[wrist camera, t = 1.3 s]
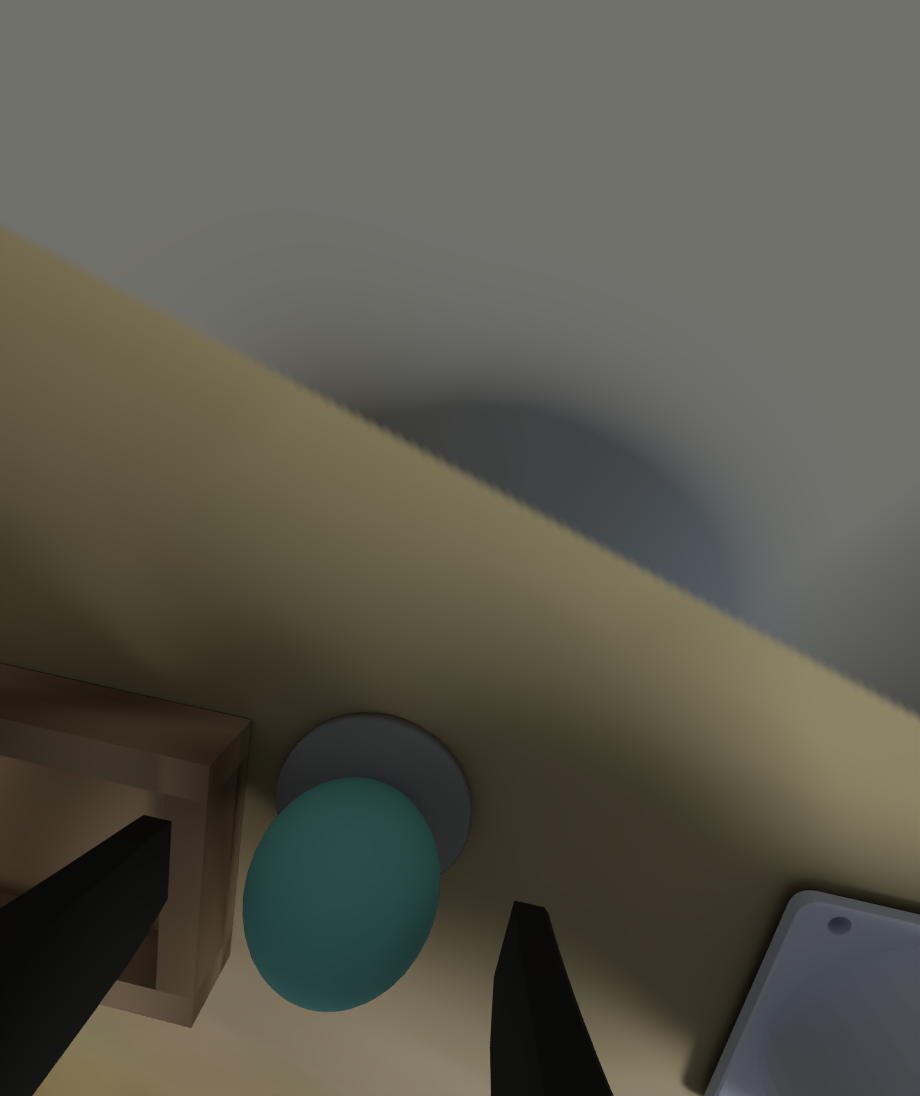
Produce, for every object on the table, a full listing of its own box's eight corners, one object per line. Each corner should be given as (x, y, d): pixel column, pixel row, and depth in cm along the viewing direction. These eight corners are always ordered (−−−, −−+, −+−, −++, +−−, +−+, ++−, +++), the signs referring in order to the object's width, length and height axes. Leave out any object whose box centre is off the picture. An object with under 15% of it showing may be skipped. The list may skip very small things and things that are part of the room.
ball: (463, 760, 12) (442, 922, 8) (435, 891, 13) (403, 1094, 9) (303, 724, 12) (203, 865, 8) (287, 856, 13) (191, 1039, 9)
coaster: (488, 737, 12) (487, 747, 11) (452, 896, 13) (450, 911, 13) (292, 693, 12) (285, 702, 12) (274, 854, 13) (267, 866, 13)
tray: (251, 720, 12) (209, 766, 11) (229, 955, 14) (191, 1027, 13) (-108, 639, 13) (-205, 670, 11) (-84, 877, 15) (-163, 936, 13)
